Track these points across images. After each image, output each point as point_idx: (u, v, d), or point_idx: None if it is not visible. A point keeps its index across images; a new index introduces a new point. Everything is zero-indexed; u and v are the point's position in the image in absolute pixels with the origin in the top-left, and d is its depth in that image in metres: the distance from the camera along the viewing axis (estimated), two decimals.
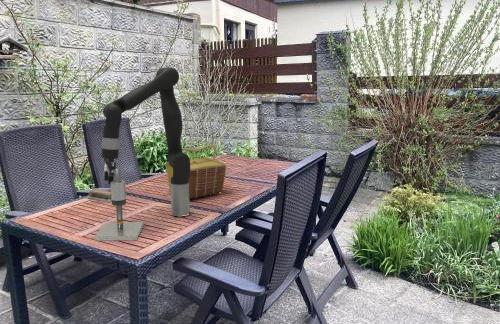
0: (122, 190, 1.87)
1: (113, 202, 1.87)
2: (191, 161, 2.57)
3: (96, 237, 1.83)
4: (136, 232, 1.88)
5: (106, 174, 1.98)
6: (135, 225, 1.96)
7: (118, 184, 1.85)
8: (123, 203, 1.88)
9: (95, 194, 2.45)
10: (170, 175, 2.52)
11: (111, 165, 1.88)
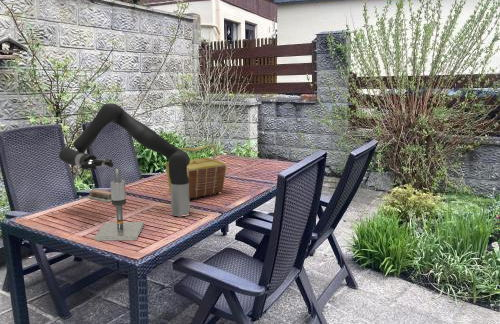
0: (122, 190, 1.87)
1: (113, 202, 1.87)
2: (191, 161, 2.57)
3: (96, 237, 1.83)
4: (136, 232, 1.88)
5: (108, 164, 1.98)
6: (135, 225, 1.96)
7: (118, 184, 1.85)
8: (123, 203, 1.88)
9: (95, 194, 2.45)
10: None
11: (80, 166, 1.94)
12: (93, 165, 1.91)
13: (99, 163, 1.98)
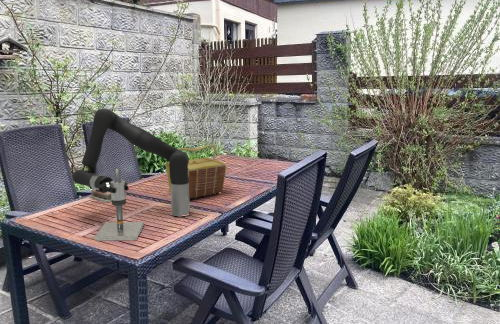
0: (122, 190, 1.87)
1: (113, 202, 1.87)
2: (191, 161, 2.57)
3: (96, 237, 1.83)
4: (136, 232, 1.88)
5: None
6: (135, 225, 1.96)
7: (118, 184, 1.85)
8: (123, 203, 1.88)
9: (96, 193, 2.46)
10: None
11: (97, 190, 1.88)
12: (112, 188, 1.84)
13: None
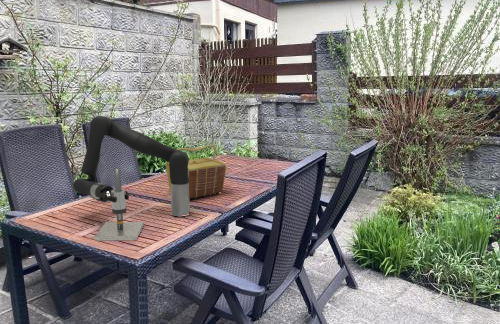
0: (123, 199, 1.88)
1: (113, 210, 1.88)
2: (191, 161, 2.57)
3: (96, 237, 1.83)
4: (136, 232, 1.88)
5: None
6: (135, 225, 1.96)
7: (118, 193, 1.86)
8: (123, 211, 1.89)
9: None
10: None
11: (97, 199, 1.88)
12: (113, 198, 1.85)
13: None
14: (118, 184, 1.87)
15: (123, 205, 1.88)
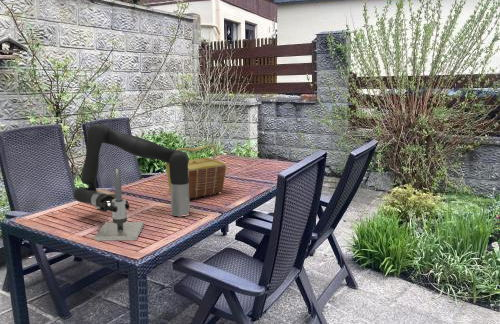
0: (123, 209, 1.89)
1: (114, 220, 1.89)
2: (191, 161, 2.57)
3: (96, 237, 1.83)
4: (136, 232, 1.88)
5: None
6: (135, 225, 1.96)
7: (119, 203, 1.87)
8: (124, 221, 1.90)
9: None
10: None
11: (98, 209, 1.89)
12: (113, 207, 1.86)
13: None
14: (118, 184, 1.87)
15: (124, 215, 1.89)
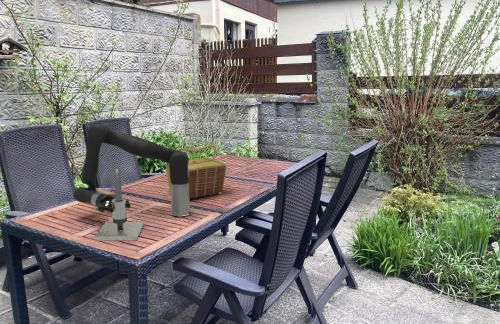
0: (123, 209, 1.89)
1: (114, 220, 1.89)
2: (191, 161, 2.57)
3: (96, 237, 1.83)
4: (136, 232, 1.88)
5: None
6: (135, 225, 1.96)
7: (119, 203, 1.87)
8: (124, 221, 1.90)
9: None
10: None
11: (97, 208, 1.90)
12: (110, 208, 1.86)
13: None
14: (118, 184, 1.87)
15: (124, 215, 1.89)
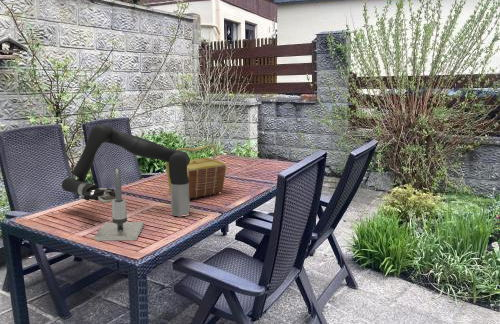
0: (123, 209, 1.89)
1: (114, 220, 1.89)
2: (191, 161, 2.57)
3: (96, 237, 1.83)
4: (136, 232, 1.88)
5: (110, 194, 2.01)
6: (135, 225, 1.96)
7: (119, 203, 1.87)
8: (124, 221, 1.90)
9: None
10: None
11: (82, 197, 1.97)
12: (95, 196, 1.94)
13: (101, 193, 2.01)
14: (118, 184, 1.87)
15: (124, 215, 1.89)
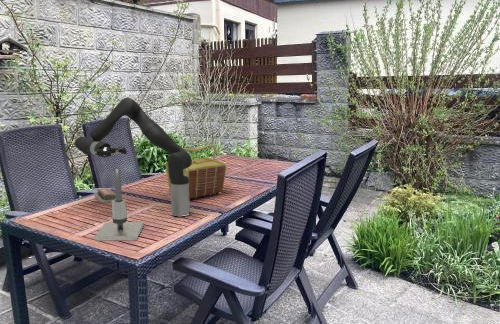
0: (123, 209, 1.89)
1: (114, 220, 1.89)
2: None
3: (96, 237, 1.83)
4: (136, 232, 1.88)
5: (122, 151, 2.09)
6: (135, 225, 1.96)
7: (119, 203, 1.87)
8: (124, 221, 1.90)
9: (99, 193, 2.48)
10: None
11: (95, 153, 2.05)
12: (108, 152, 2.01)
13: (113, 150, 2.09)
14: (118, 184, 1.87)
15: (124, 215, 1.89)
